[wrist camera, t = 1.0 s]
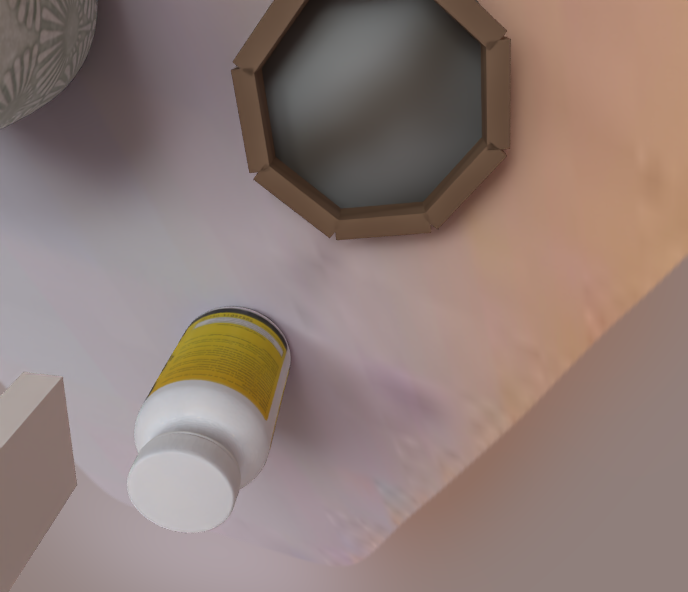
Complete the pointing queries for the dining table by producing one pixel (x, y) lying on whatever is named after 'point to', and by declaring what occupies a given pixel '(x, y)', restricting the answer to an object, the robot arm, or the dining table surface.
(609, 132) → the dining table surface
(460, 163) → the holder
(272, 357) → the pill bottle
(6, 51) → the planter
